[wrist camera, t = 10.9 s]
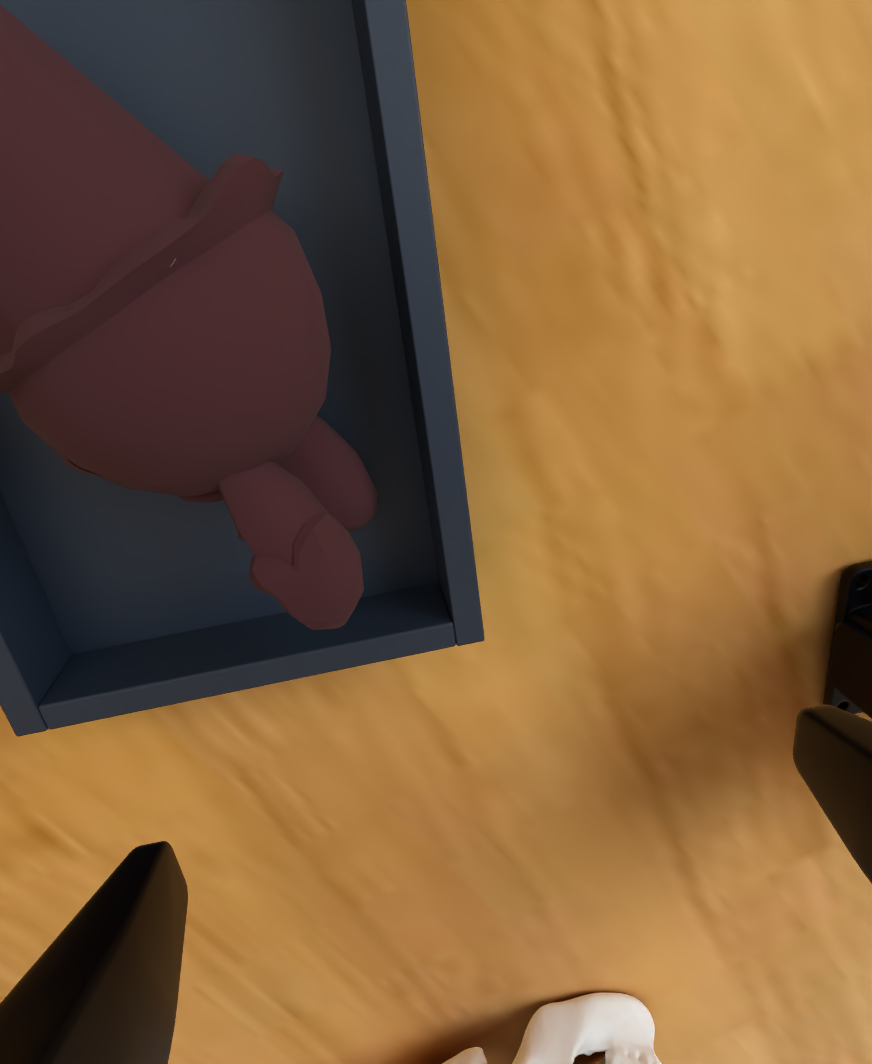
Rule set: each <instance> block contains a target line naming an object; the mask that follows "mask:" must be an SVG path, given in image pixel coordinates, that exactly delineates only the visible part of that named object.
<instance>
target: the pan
mask: <svg viewBox="0 0 872 1064" xmlns="http://www.w3.org/2000/svg"><path fill="white" fill-rule="evenodd" d="M0 5H1V6H2V7H4V8H5V9H6V10H7V11H8V12H10V13H11V14H12V15H13V16H14V17H15V18H17V19H18V20H19V21H20V22H21V23H23V24H24V25H25V26H26V27H27V28H29V29H30V30H31V31H32V32H33V33H35V34H36V35H37V36H38V37H39V38H40V39H42V40H43V41H44V42H45V43H46V44H48V45H49V46H50V47H51V48H52V49H54V50H55V51H56V52H57V53H58V54H60V55H61V56H62V57H63V58H64V59H65V60H67V61H68V62H69V63H70V64H71V65H73V66H74V67H75V68H76V69H77V70H79V71H80V72H81V73H82V74H83V75H85V76H86V77H87V78H88V79H89V80H90V81H92V82H93V83H94V84H95V85H96V86H98V87H99V88H100V89H101V90H102V91H104V92H105V93H106V94H107V95H108V96H110V97H111V98H112V99H113V100H114V101H116V102H117V103H118V104H119V105H120V106H121V107H123V108H124V109H125V110H126V111H127V112H129V113H130V114H131V115H132V116H133V117H135V118H136V119H137V120H138V121H139V122H141V123H142V124H143V125H144V126H145V127H146V128H148V129H149V130H150V131H151V132H152V133H154V134H155V135H156V136H157V137H158V138H160V139H161V140H162V141H163V142H164V143H166V144H167V145H168V146H169V147H170V148H171V149H173V150H174V151H175V152H176V153H177V154H179V155H180V156H181V157H182V158H183V159H185V160H186V161H187V162H188V163H189V164H191V165H192V166H193V167H194V168H195V169H197V170H198V171H199V172H200V173H201V174H202V175H204V176H205V177H206V178H207V179H208V180H210V179H211V178H212V176H213V175H214V173H215V172H216V170H217V169H218V167H219V166H220V165H221V164H222V163H223V162H224V161H226V160H227V159H228V158H229V157H231V156H232V155H233V154H234V153H236V154H241V155H247V156H252V157H255V158H258V159H260V160H263V161H264V162H265V163H266V165H267V166H268V167H270V168H275V169H279V170H284V172H283V176H282V179H281V182H280V185H279V189H278V192H277V195H276V198H275V202H274V205H273V208H272V211H273V212H274V213H276V214H277V215H278V216H279V217H280V218H281V219H282V220H283V221H284V222H285V223H287V224H288V225H289V226H290V227H291V228H292V229H293V230H294V231H295V233H296V236H297V238H298V240H299V243H300V245H301V247H302V249H303V252H304V254H305V256H306V259H307V261H308V263H309V266H310V268H311V270H312V273H313V275H314V277H315V280H316V282H317V284H318V286H319V289H320V291H321V293H322V299H323V305H324V311H325V316H326V322H327V328H328V334H329V339H330V345H331V354H330V363H329V373H328V382H327V391H326V399H325V401H324V403H323V404H322V406H321V408H320V410H319V411H318V413H317V416H319V417H321V418H322V419H323V420H324V421H325V422H326V423H328V424H329V425H330V426H331V427H332V428H333V429H334V430H335V431H336V432H337V433H338V434H339V435H340V436H341V437H342V438H344V439H345V440H346V441H347V442H348V443H349V444H350V445H351V446H352V447H353V448H354V449H355V450H356V451H357V453H358V455H359V457H360V459H361V461H362V463H363V465H364V467H365V469H366V471H367V473H368V475H369V477H370V479H371V480H372V482H373V484H374V486H375V488H376V490H377V510H376V512H375V515H374V517H373V518H372V519H371V520H370V521H369V522H368V523H367V524H366V525H365V526H363V527H361V528H359V529H357V530H355V531H348V530H347V531H348V532H349V534H350V535H351V537H352V539H353V541H354V543H355V544H356V546H357V548H358V550H359V552H360V558H361V565H362V575H363V585H364V591H363V593H362V595H361V597H360V599H359V601H358V603H357V605H356V607H355V609H354V611H353V612H352V614H351V616H350V617H349V619H348V620H347V622H346V624H345V625H343V626H341V627H339V628H335V629H324V630H313V629H310V628H308V627H307V626H306V625H304V624H303V623H301V622H300V621H298V620H297V619H295V618H294V617H293V616H291V615H290V614H289V613H288V612H287V611H286V610H285V609H284V608H283V607H282V605H281V604H280V603H279V602H278V601H277V600H276V599H275V598H274V597H273V596H271V595H269V594H267V593H265V592H263V591H261V590H259V589H257V588H255V587H254V585H253V583H252V582H251V580H250V579H249V569H250V562H251V559H252V557H253V555H255V554H254V553H253V551H252V550H251V549H250V547H249V546H248V544H247V543H246V542H245V541H243V540H241V539H239V538H238V533H237V529H236V526H235V524H234V521H233V519H232V517H231V515H230V513H229V510H228V508H227V506H226V504H225V501H224V500H221V501H216V502H212V503H202V502H187V501H184V500H182V499H181V498H179V497H178V496H176V495H170V494H162V493H155V492H147V491H140V490H133V489H128V488H125V487H123V486H120V485H118V484H115V483H112V482H110V481H107V480H105V479H102V478H100V477H97V476H90V475H87V474H84V473H82V472H79V471H76V470H74V469H71V468H69V467H68V466H67V465H66V464H65V462H64V461H63V460H62V459H61V457H60V456H59V455H58V453H57V452H56V451H55V450H53V449H52V448H51V447H50V446H49V445H48V444H47V443H46V442H44V441H43V440H42V439H41V438H40V437H39V436H38V435H37V434H35V433H34V432H33V431H32V430H31V429H30V428H29V427H28V426H26V425H25V424H24V423H23V422H22V421H21V419H20V416H19V414H18V412H17V410H16V408H15V405H14V403H13V401H12V399H11V397H10V394H9V393H2V392H0V705H1V707H2V709H3V711H4V713H5V715H6V717H7V719H8V721H9V723H10V725H11V727H12V728H13V730H14V732H15V734H16V736H23V735H28V734H33V733H38V732H43V731H46V730H48V728H49V729H55V728H60V727H65V726H70V725H75V724H79V723H84V722H89V721H94V720H99V719H104V718H109V717H113V716H118V715H123V714H128V713H133V712H138V711H142V710H147V709H152V708H157V707H162V706H167V705H172V704H176V703H181V702H186V701H191V700H196V699H201V698H206V697H210V696H215V695H220V694H225V693H230V692H235V691H240V690H244V689H249V688H254V687H259V686H264V685H269V684H273V683H278V682H283V681H288V680H293V679H298V678H303V677H307V676H312V675H317V674H322V673H327V672H332V671H337V670H341V669H346V668H351V667H356V666H361V665H366V664H370V663H375V662H380V661H385V660H390V659H395V658H400V657H404V656H409V655H414V654H419V653H424V652H429V651H434V650H438V649H443V648H448V647H453V646H455V645H456V644H457V646H461V645H466V644H470V643H475V642H480V641H484V631H483V623H482V615H481V606H480V598H479V590H478V582H477V574H476V566H475V558H474V550H473V541H472V533H471V525H470V517H469V509H468V501H467V493H466V485H465V477H464V468H463V460H462V452H461V444H460V436H459V428H458V420H457V412H456V404H455V395H454V387H453V379H452V371H451V363H450V355H449V347H448V339H447V330H446V322H445V314H444V306H443V298H442V290H441V282H440V274H439V266H438V257H437V249H436V241H435V233H434V225H433V217H432V209H431V201H430V193H429V184H428V176H427V168H426V160H425V152H424V144H423V136H422V128H421V119H420V111H419V103H418V95H417V87H416V79H415V71H414V63H413V55H412V46H411V38H410V30H409V22H408V14H407V6H406V0H0Z"/></svg>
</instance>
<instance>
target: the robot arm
mask: <svg viewBox="0 0 872 1064" xmlns="http://www.w3.org/2000/svg"><path fill="white" fill-rule="evenodd" d="M858 578H859V579H858ZM857 579H858V580H857ZM856 580H857V581H856ZM823 704H824V705H820V706H815V707H810V708H805V709H803V710H801V711H800V712H799V714H798V716H797V721H796V729H795V737H794V745H793V759H794V763H795V765H796V768H797V769H798V771H799V773H800V775H801V776H802V778H803V779H804V781H805V782H806V784H807V786H808V787H809V789H810V790H811V792H812V794H813V795H814V797H815V798H816V800H817V801H818V803H819V805H820V806H821V808H822V809H823V811H824V812H825V814H826V816H827V817H828V819H829V820H830V822H831V824H832V825H833V827H834V828H835V830H836V831H837V833H838V835H839V836H840V838H841V839H842V841H843V842H844V844H845V846H846V847H847V849H848V850H849V852H850V853H851V855H852V856H853V858H854V859H855V861H856V862H857V864H858V865H859V867H860V868H861V870H862V871H863V873H864V874H865V875H866V877H867V878H868V879H869V881H870V882H871V883H872V722H871V721H869V720H866V719H864V718H861V717H859V716H856V715H854V714H857V713H861V712H864V713H866V714H867V715H868V716H869V717H871V718H872V561H870V562H865V563H860V564H855V565H853V566H850V567H849V568H848V569H846V570H845V571H844V573H843V574H842V577H841V580H840V587H839V594H838V602H837V609H836V616H835V623H834V630H833V638H832V645H831V652H830V659H829V666H828V674H827V681H826V688H825V695H824V703H823ZM187 903H188V891H187V884H186V881H185V878H184V876H183V873H182V871H181V868H180V866H179V863H178V861H177V858H176V856H175V853H174V851H173V848H172V847H171V845H170V844H169V843H168V842H166V841H161V842H156V843H151V844H146V845H142V846H138V847H136V848H135V849H133V850H132V851H131V852H130V853H129V854H128V856H127V857H126V858H125V859H124V860H123V861H122V863H121V864H120V865H119V866H118V867H117V868H116V870H115V871H114V872H113V873H112V874H111V875H110V877H109V878H108V879H107V880H106V881H105V882H104V884H103V885H102V886H101V887H100V888H99V889H98V890H97V892H96V893H95V894H94V895H93V896H92V897H91V899H90V900H89V901H88V902H87V903H86V904H85V906H84V907H83V908H82V909H81V910H80V911H79V913H78V914H77V915H76V916H75V917H74V918H73V920H72V921H71V922H70V923H69V924H68V925H67V927H66V928H65V929H64V930H63V931H62V932H61V933H60V935H59V936H58V937H57V938H56V939H55V940H54V942H53V943H52V944H51V945H50V946H49V947H48V949H47V950H46V951H45V952H44V953H43V954H42V956H41V957H40V958H39V959H38V960H37V961H36V963H35V964H34V965H33V966H32V967H31V968H30V970H29V971H28V972H27V973H26V974H25V975H24V976H23V978H22V979H21V980H20V981H19V982H18V983H17V985H16V986H15V987H14V988H13V989H12V990H11V992H10V993H9V994H8V995H7V996H6V997H5V999H4V1000H3V1001H2V1002H1V1003H0V1064H168V1059H169V1054H170V1049H171V1043H172V1038H173V1032H174V1026H175V1018H176V1010H177V1001H178V991H179V981H180V972H181V962H182V952H183V942H184V933H185V923H186V913H187Z"/></svg>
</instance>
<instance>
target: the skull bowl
mask: <svg viewBox="0 0 872 1064" xmlns="http://www.w3.org/2000/svg"><path fill="white" fill-rule="evenodd" d="M654 1034H655V1028H654V1022H653V1019H652V1016H651V1014H650V1012H649V1011H648V1009H647V1008H646V1007H645V1006H644V1004H643V1003H642V1002H641V1001H639V1000H638V999H637V998H635V997H633V996H630V995H628V994H622V993H605V992H604V993H592V994H587V995H583V996H580V997H577V998H573V999H570V1000H566V1001H562V1002H555V1003H549V1004H546V1005H544V1006H542V1007H540V1008H539V1009H538V1010H537V1011H536V1012H535V1013H534V1015H533V1016H532V1018H531V1020H530V1021H529V1024H528V1026H527V1028H526V1031H525V1033H524V1036H523V1040H522V1043H521V1046H520V1048H519V1051H518V1053H517V1055H516V1057H515V1059H514V1061H513V1063H512V1064H573V1062H574V1058H575V1057H576V1056H578V1055H580V1054H585V1055H587V1056H590V1055H591V1054H593V1053H594V1052H605V1057H604V1058H603V1059H602V1060H601V1061H600V1062H599V1063H597V1064H662V1063H661V1062H660V1061H659V1059H658V1058H657V1056H656V1055H655V1053H654V1045H653V1042H654ZM442 1064H487V1060H486V1058H485V1056H484V1052H483V1049H482V1048H480V1047H473V1048H469V1049H466V1050H464V1051H462V1052H460V1053H458V1054H457V1055H456V1056H454V1057H452V1058H451V1059H449V1060H447V1061H446V1062H444V1063H442Z"/></svg>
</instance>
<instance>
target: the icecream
mask: <svg viewBox="0 0 872 1064" xmlns="http://www.w3.org/2000/svg"><path fill="white" fill-rule="evenodd" d="M283 172H284V170H279V169H275V168H270V167H268V166H267V165H266V163H265V162H264V161H263V160H260V159H258V158H255V157H252V156H247V155H241V154H236V153H234V154H233V155H232V156H231V157H229V158H228V159H227V160H226V161H224V162H223V163H222V164H221V165H220V166H219V167H218V169H217V170H216V172H215V173H214V175H213V176H212V178H211V179H210V180H208V179H207V178H206V177H205V176H204V175H202V174H201V173H200V172H199V171H198V170H197V169H195V168H194V167H193V166H192V165H191V164H189V163H188V162H187V161H186V160H185V159H183V158H182V157H181V156H180V155H179V154H177V153H176V152H175V151H174V150H173V149H171V148H170V147H169V146H168V145H167V144H166V143H164V142H163V141H162V140H161V139H160V138H158V137H157V136H156V135H155V134H154V133H152V132H151V131H150V130H149V129H148V128H146V127H145V126H144V125H143V124H142V123H141V122H139V121H138V120H137V119H136V118H135V117H133V116H132V115H131V114H130V113H129V112H127V111H126V110H125V109H124V108H123V107H121V106H120V105H119V104H118V103H117V102H116V101H114V100H113V99H112V98H111V97H110V96H108V95H107V94H106V93H105V92H104V91H102V90H101V89H100V88H99V87H98V86H96V85H95V84H94V83H93V82H92V81H90V80H89V79H88V78H87V77H86V76H85V75H83V74H82V73H81V72H80V71H79V70H77V69H76V68H75V67H74V66H73V65H71V64H70V63H69V62H68V61H67V60H65V59H64V58H63V57H62V56H61V55H60V54H58V53H57V52H56V51H55V50H54V49H52V48H51V47H50V46H49V45H48V44H46V43H45V42H44V41H43V40H42V39H40V38H39V37H38V36H37V35H36V34H35V33H33V32H32V31H31V30H30V29H29V28H27V27H26V26H25V25H24V24H23V23H21V22H20V21H19V20H18V19H17V18H15V17H14V16H13V15H12V14H11V13H10V12H8V11H7V10H6V9H5V8H4V7H2V6H1V5H0V392H2V393H9V394H10V397H11V399H12V401H13V403H14V405H15V408H16V410H17V412H18V414H19V416H20V419H21V421H22V422H23V423H24V424H25V425H26V426H28V427H29V428H30V429H31V430H32V431H33V432H34V433H35V434H37V435H38V436H39V437H40V438H41V439H42V440H43V441H44V442H46V443H47V444H48V445H49V446H50V447H51V448H52V449H53V450H55V451H56V452H57V453H58V455H59V456H60V457H61V459H62V460H63V461H64V462H65V464H66V465H67V466H68V467H69V468H71V469H74V470H76V471H79V472H82V473H84V474H87V475H90V476H97V477H100V478H102V479H105V480H107V481H110V482H112V483H115V484H118V485H120V486H123V487H125V488H128V489H133V490H140V491H147V492H155V493H162V494H170V495H176V496H178V497H179V498H181V499H182V500H184V501H187V502H202V503H212V502H216V501H221V500H224V501H225V504H226V506H227V508H228V510H229V513H230V515H231V517H232V519H233V521H234V524H235V526H236V529H237V533H238V538H239V539H241V540H243V541H245V542H246V543H247V544H248V546H249V547H250V549H251V550H252V551H253V553H254V554H255V555H253V557H252V559H251V562H250V569H249V579H250V580H251V582H252V583H253V585H254V587H255V588H257V589H259V590H261V591H263V592H265V593H267V594H269V595H271V596H273V597H274V598H275V599H276V600H277V601H278V602H279V603H280V604H281V605H282V607H283V608H284V609H285V610H286V611H287V612H288V613H289V614H290V615H291V616H293V617H294V618H295V619H297V620H298V621H300V622H301V623H303V624H304V625H306V626H307V627H308V628H310V629H313V630H324V629H335V628H339V627H341V626H343V625H345V624H346V622H347V620H348V619H349V617H350V616H351V614H352V612H353V611H354V609H355V607H356V605H357V603H358V601H359V599H360V597H361V595H362V593H363V591H364V585H363V575H362V565H361V558H360V552H359V550H358V548H357V546H356V544H355V543H354V541H353V539H352V537H351V535H350V534H349V532H348V531H355V530H357V529H359V528H361V527H363V526H365V525H366V524H367V523H368V522H369V521H370V520H371V519H372V518H373V517H374V515H375V512H376V510H377V490H376V488H375V486H374V484H373V482H372V480H371V479H370V477H369V475H368V473H367V471H366V469H365V467H364V465H363V463H362V461H361V459H360V457H359V455H358V453H357V451H356V450H355V449H354V448H353V447H352V446H351V445H350V444H349V443H348V442H347V441H346V440H345V439H344V438H342V437H341V436H340V435H339V434H338V433H337V432H336V431H335V430H334V429H333V428H332V427H331V426H330V425H329V424H328V423H326V422H325V421H324V420H323V419H322V418H321V417H319V416H317V413H318V411H319V410H320V408H321V406H322V404H323V403H324V401H325V399H326V391H327V382H328V373H329V363H330V354H331V345H330V339H329V334H328V328H327V322H326V316H325V311H324V305H323V299H322V293H321V291H320V289H319V286H318V284H317V282H316V280H315V277H314V275H313V273H312V270H311V268H310V266H309V263H308V261H307V259H306V256H305V254H304V252H303V249H302V247H301V245H300V243H299V240H298V238H297V236H296V233H295V231H294V230H293V229H292V228H291V227H290V226H289V225H288V224H287V223H285V222H284V221H283V220H282V219H281V218H280V217H279V216H278V215H277V214H276V213H274V212H273V211H272V208H273V205H274V202H275V198H276V195H277V192H278V189H279V185H280V182H281V179H282V176H283ZM347 530H348V531H347Z"/></svg>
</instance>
